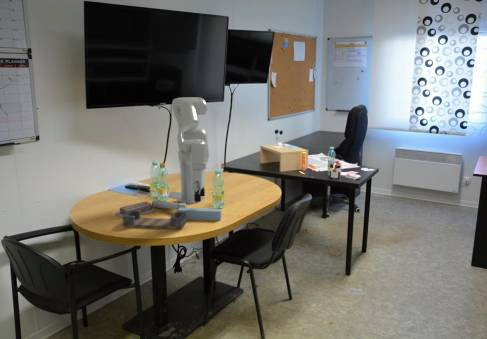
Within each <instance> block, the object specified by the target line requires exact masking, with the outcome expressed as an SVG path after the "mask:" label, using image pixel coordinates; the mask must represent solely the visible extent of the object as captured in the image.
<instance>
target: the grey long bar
mask: <svg viewBox="0 0 487 339" xmlns="http://www.w3.org/2000/svg"><path fill="white" fill-rule="evenodd" d="M151 205H152V207H153V208H156V209H168V210H177V211H176V212H178V209H179V208H188V207H187V204H186V203H181V202H180V203H177V202H170V201H163V200H160V199H158V200H153V201H152V202H151Z"/></svg>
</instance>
